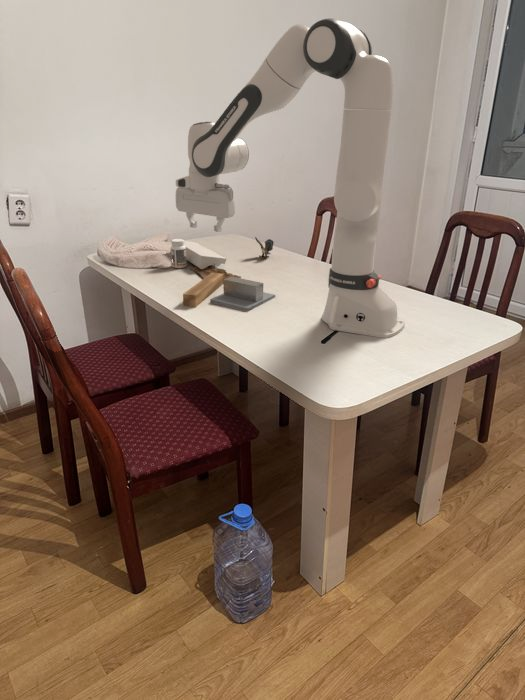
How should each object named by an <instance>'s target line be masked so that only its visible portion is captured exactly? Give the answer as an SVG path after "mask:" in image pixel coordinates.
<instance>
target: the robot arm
mask: <svg viewBox="0 0 525 700" xmlns="http://www.w3.org/2000/svg"><path fill="white" fill-rule="evenodd" d="M371 44H372V43H371V41H370V39H369V37H368V36H367V34H366V33H365V32H363V30H361V29H358V28H357V27H355V26H354V25H353V24H351V23H349V22H347V21H342V20H339V19H337V18H323V19H321V20H318V21H316V22H315V23H314V24H312V25H311V26H310V27H309V26H307V25H304V24H295V25H292V26H291V27H289V28H288V30H287V31H286V32H285V33H284V34H283V35H282V36H281V37H280V38H279V40H278V41H277V42H276V43H275V44H274V46H273V47H272V48H271V50H270V51H269V53H268V55H267V56H266V57H265V59H264V60H263V61H262V64H261V65H260V67H259V68H257V71H256V72H255V73H254V75H253V76H252V78H251V79H250V80H249V81H248V82H247V83H246V84H245V86H244V87H242V89H241V90H240V91H239V92H238V93H237V95H235V96H234V98H233V99H232V100H231V102H230V103H229V105H228V106H226V107H227V108H225V109H224V111H223V113H222V114H221V115H220V116H219V118H218V119H217V120H216V122H213V121H201V122H197V123H196V122H195V123H193V124H192V125H191V126H190V127H189V130H188V135H187V155H188V161H189V167H188V175H186V176H183V177H180V178H177V179H175V186H176V189H175V207H176V209H177V211H178V212H183V213H185V216H186V218H187V220H188V222H189V227H190V228H192V229H196V228H197V227H198V221H196V220H195V218H194V217H195V214H196V215H203V216H209V217H210V216H211V217H216V221H217V222H216V224H215V225H213V231H214V232H215V233H216V232H217V233H220V232H222V226H223V223H224V222H225V219H230V218H233V217H234V215H235V213H236V207H235V199H234V190H233V189H232V187H231V186H230V185H229V184H222V183H220V175H225V174H229V173H236V172H238V171H241V170H243V169H244V168H245V167H246V166H247V164H248V162H249V159H250V157H249V156H250V151H249V147H248V144H247V142H246V141H245V140H244V139H242V137H239V136H240V135H241V133H242V132H243V131H244V129H245V128H246V126H247V125H249V124H250V123H251V122H253V121H254V120H255V119H257V118H259V117H262V116H264V115H266V114H270V113H273V112H276V111H279V110H282V109H284V108H285V107H286V106H287V105H288V104H289V103H290V102H291V101H292V100H293V99H294V98H295V97H296V96H297V94H298V93H299V91H300V90H301V89H302V87H303V86H304V84H305V83H306V82H307V80H308V79H309V78H310V76H311V75H312V74H313V73H315V72H317V73H319V74H321V75H323V76H327V77H330V78H333V79H335V80H340V81H341V82H342V84H343V87H344V102H343V103H344V104H343V110H342V111H343V114H342V122H341V123H342V125H341V136H340V137H341V138H340V147H339V148H340V149H339V152H338V153H339V156H338V161H337V169H336V178H335V184H334V185H335V186H334V194H333V195H334V196H333V202H334V206H335V210H336V211H337V212H336V218H335V219H336V221H335V228H334V235H333V242H332V253H331V267H330V268H329V273H328V284H327V285H328V294H327V298H326V303H325V307H324V310H323V313H322V315H321V320H322V321H323V322H324V323H325V324H327V325H328V327H329V329H330V330H332V331H338V332H344V333H345V332H346V333H351V334H358V335H364V336H370V337H377V338H384V339H386V338H391V337H394V336H396V335H398V334H399V333H400V332H401V331H403V330H404V328H405V326H406V325H405V324H406V323H405V320H404V319H403V318H400V317H398V307H397V303H396V301H395V300H393V298H392V297H390V296H389V295H388V294H387V293H386V292H385V290H383V289H382V288H381V287H380V285H379V284H380V280H381V279H382V274H377V273H376V272H375V271H374V267H375V266H374V265H375V256H376V248H377V247H376V246H377V239H378V238H377V237H378V230H379V223H380V221H379V220H380V213H381V205H382V198H383V197H382V196H383V180H384V179H383V178H384V171H385V164H386V156H387V148H388V143H389V142H388V139H389V132H390V124H391V123H390V122H391V115H392V107H393V106H392V104H393V88H394V87H393V70H392V69H393V68H392V65H391V64H390V62H389V60H387V59H386V58H385V57H382V56H380V55H377V54H373V47H372V45H371Z"/></svg>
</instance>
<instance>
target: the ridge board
mask: <svg viewBox="0 0 525 700" xmlns="http://www.w3.org/2000/svg"><path fill="white" fill-rule="evenodd" d="M223 283H224V284H223V293H221V294H219V295H216V296H214V297H212V298H210V299H209V301H210V302H209V303H210V304H214V305H218V306H222V307H227V308H231V309H235V310H240V311H244V312H250V311H252V310H254V309H255V308H258V307H260V306H262V305H263V304H266V303H267V302H269V301H271V300H273V299H275V298H276V294H274V293H269V292H265V291H264V283H263V282H260V281H255V280H250V279H245V278H242V277H241V278H237V277H232V276H231V277H228V278H226V279H224V282H223Z"/></svg>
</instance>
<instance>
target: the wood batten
mask: <svg viewBox="0 0 525 700" xmlns="http://www.w3.org/2000/svg"><path fill="white" fill-rule="evenodd" d="M221 286H224V282H223V274H221V273H211V274H210V275H208V276H207V277H206V278H204V279H203V278H202V279H201V280H199V282H197V283H196V284H195V285H193V286H192V287H190V288H189V289H188V290H187V291H185V292H184V293H183V294H182V301H183V302H182V303H183V306H184V307H190V308H197V307H198V306H199V305H200V304H202V303H203V302H204V301H205V300H207V299H208V298H209V297H211V295H212V294H214V293H215V292H216V291H217V290H218V289H220V287H221Z"/></svg>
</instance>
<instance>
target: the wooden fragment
mask: <svg viewBox="0 0 525 700" xmlns="http://www.w3.org/2000/svg"><path fill="white" fill-rule="evenodd" d="M191 269H192V270H193V271H194V272H195V273H196V274H198V275H199V276H200V277H201V279H202V280H203V279H204V278H206V277H207V276H208V275H210V274H211V273H221V274H223V283H224V279H226V278H228V277H231V276H232V277H237V278H241V279H242V276H240V275H236V274H233V273H228V272H227V270H226V269H224V268H217V266H215V267H214V266H213V267H212V266H208V267H206V268H204V269H200V268H199V267H197V266H194V267H193V266H192V267H191Z"/></svg>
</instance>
